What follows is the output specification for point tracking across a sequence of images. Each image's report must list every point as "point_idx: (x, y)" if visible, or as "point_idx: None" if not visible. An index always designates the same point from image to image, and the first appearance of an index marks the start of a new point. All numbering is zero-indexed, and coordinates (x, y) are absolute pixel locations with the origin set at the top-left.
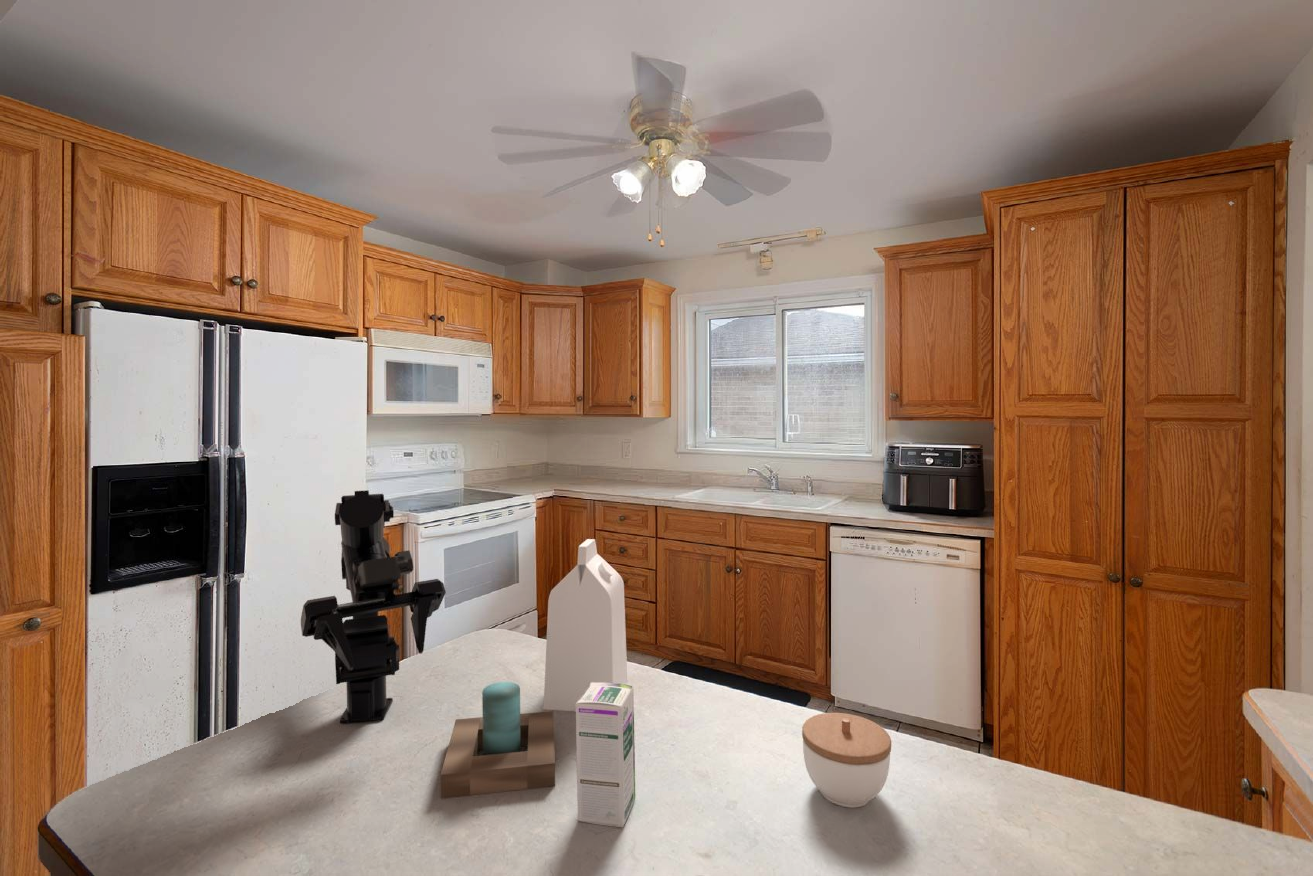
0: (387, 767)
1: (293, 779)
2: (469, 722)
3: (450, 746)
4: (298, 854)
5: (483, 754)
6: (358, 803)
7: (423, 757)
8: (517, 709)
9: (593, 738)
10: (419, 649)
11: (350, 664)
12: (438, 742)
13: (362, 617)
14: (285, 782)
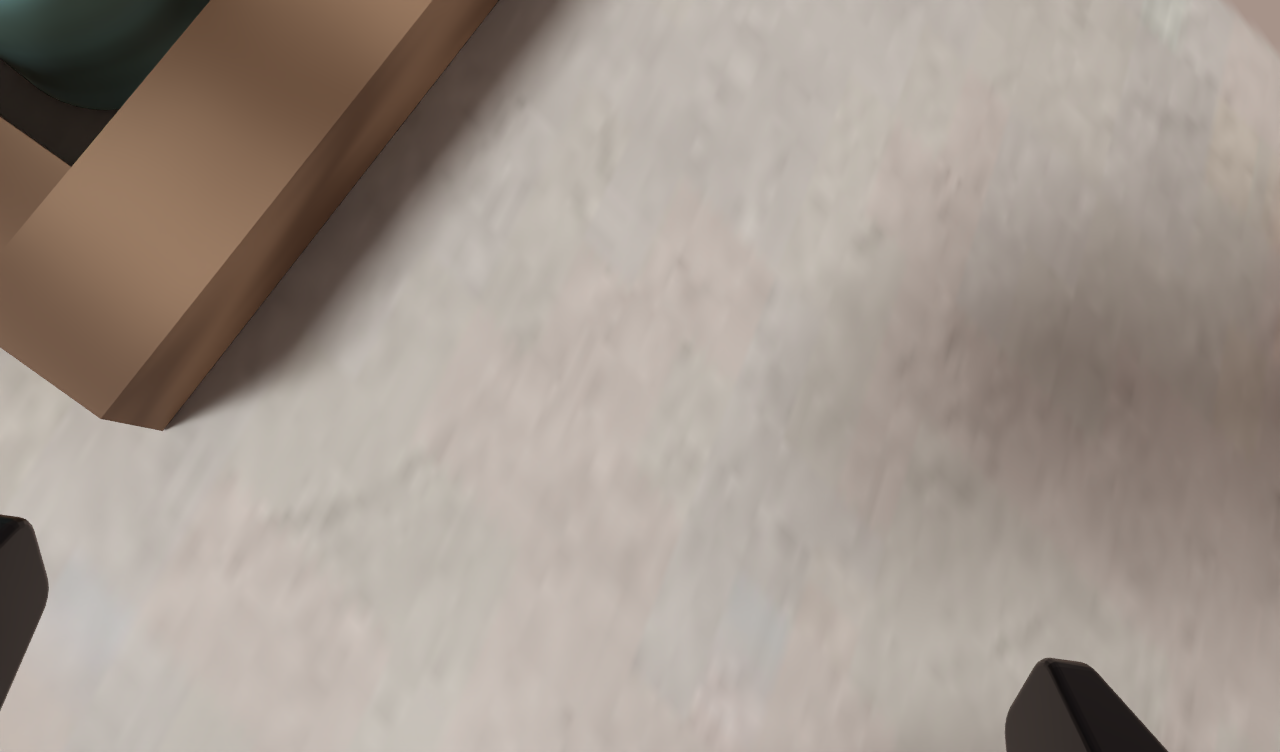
0: (621, 434)
1: None
2: (56, 299)
3: (333, 102)
4: (1176, 40)
5: (189, 8)
6: (863, 212)
7: (418, 383)
8: None
9: None
10: (13, 591)
11: (1094, 677)
12: (262, 483)
13: None
14: None
